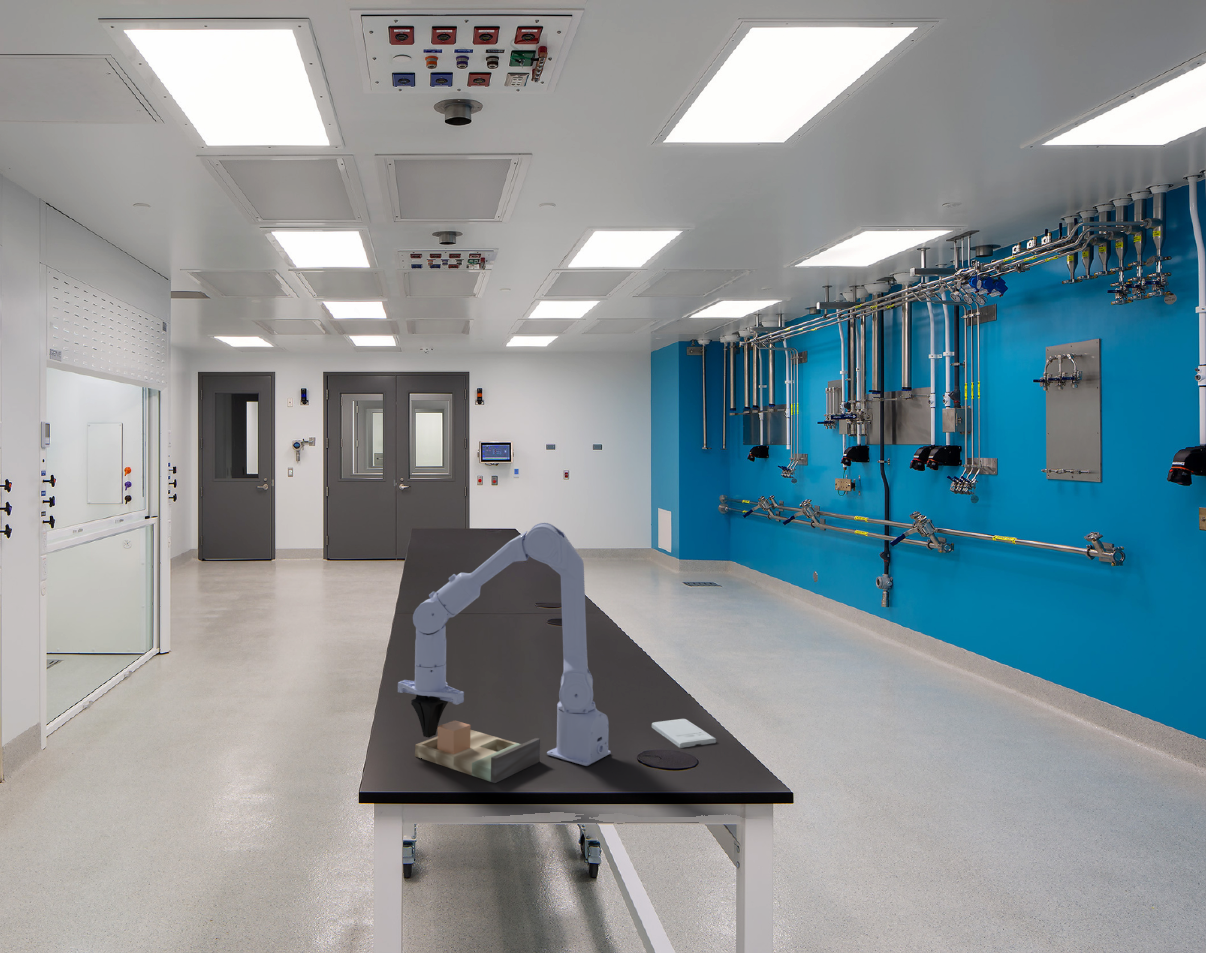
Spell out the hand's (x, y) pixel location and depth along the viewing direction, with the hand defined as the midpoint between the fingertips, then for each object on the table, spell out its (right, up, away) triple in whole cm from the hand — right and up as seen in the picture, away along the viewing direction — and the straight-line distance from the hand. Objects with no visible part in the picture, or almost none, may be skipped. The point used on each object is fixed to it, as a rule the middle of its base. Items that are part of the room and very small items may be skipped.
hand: (429, 735), depth 146 cm
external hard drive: (+49, -5, +12) cm, 51 cm away
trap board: (+9, -3, -3) cm, 10 cm away
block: (+5, -1, -4) cm, 6 cm away
